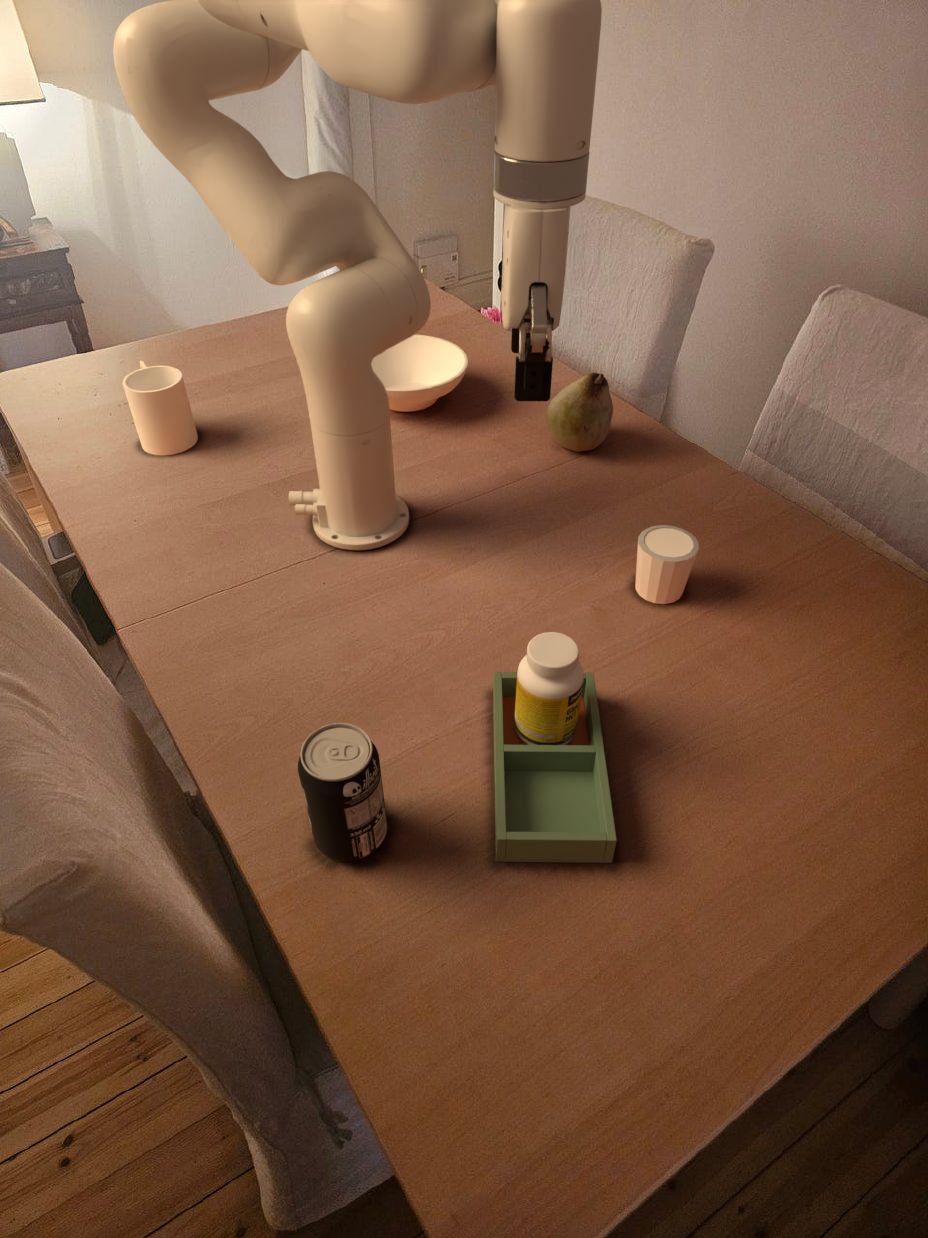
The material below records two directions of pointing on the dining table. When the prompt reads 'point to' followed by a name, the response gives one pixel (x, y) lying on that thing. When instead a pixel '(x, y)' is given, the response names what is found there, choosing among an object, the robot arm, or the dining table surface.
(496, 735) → the tray
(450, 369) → the bowl
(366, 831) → the beverage can
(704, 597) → the dining table surface
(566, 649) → the pill bottle
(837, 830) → the dining table surface
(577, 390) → the fruit
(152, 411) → the cup
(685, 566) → the cream faceted tub
